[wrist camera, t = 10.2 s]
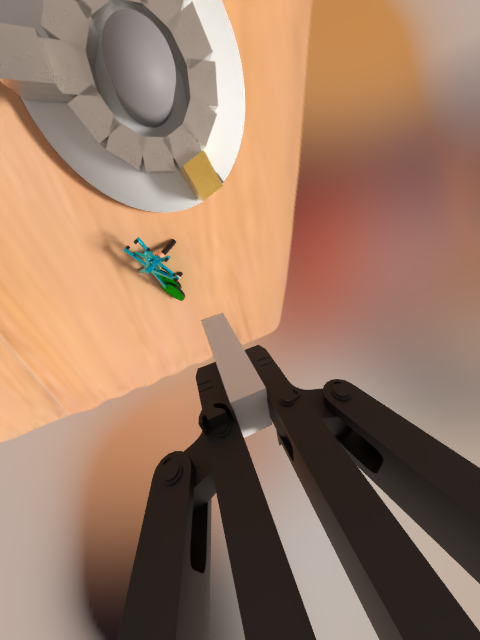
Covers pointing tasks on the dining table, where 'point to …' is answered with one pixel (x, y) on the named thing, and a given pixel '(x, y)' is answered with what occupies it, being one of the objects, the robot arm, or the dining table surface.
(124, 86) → the white shallow round piece
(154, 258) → the stick construction toy
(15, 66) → the grey segmented ring
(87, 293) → the dining table surface
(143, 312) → the dining table surface
